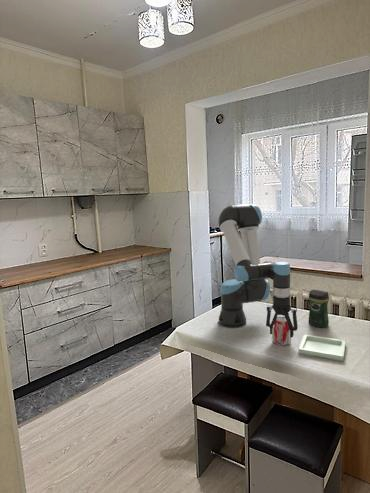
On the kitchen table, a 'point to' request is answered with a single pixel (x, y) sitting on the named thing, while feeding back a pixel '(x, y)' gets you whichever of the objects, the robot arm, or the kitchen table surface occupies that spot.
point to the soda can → (281, 331)
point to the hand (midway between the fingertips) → (281, 341)
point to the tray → (322, 347)
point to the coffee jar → (318, 308)
